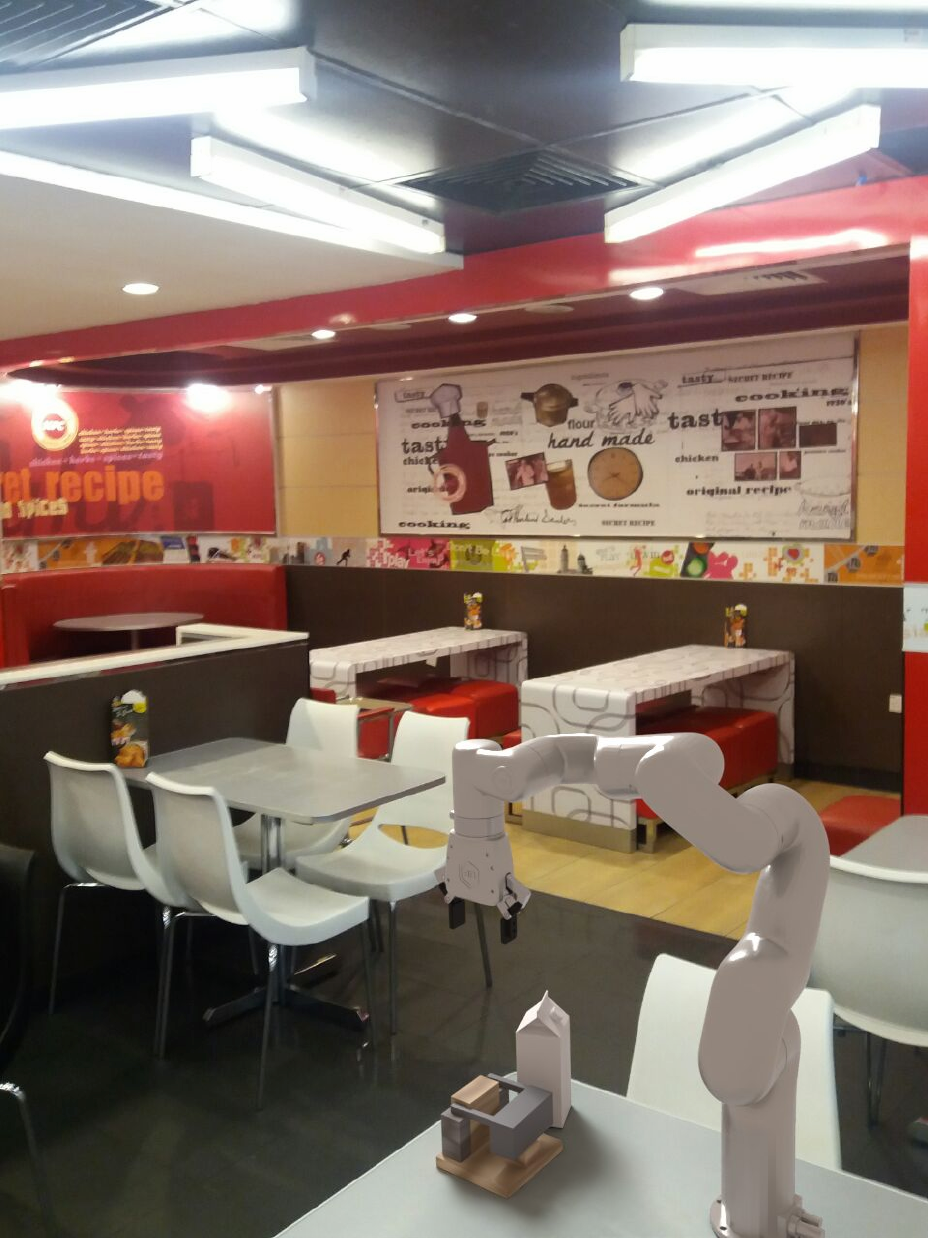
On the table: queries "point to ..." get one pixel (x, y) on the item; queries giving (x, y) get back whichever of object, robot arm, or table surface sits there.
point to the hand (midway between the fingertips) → (482, 933)
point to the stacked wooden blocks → (488, 1143)
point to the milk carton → (546, 1054)
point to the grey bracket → (514, 1118)
